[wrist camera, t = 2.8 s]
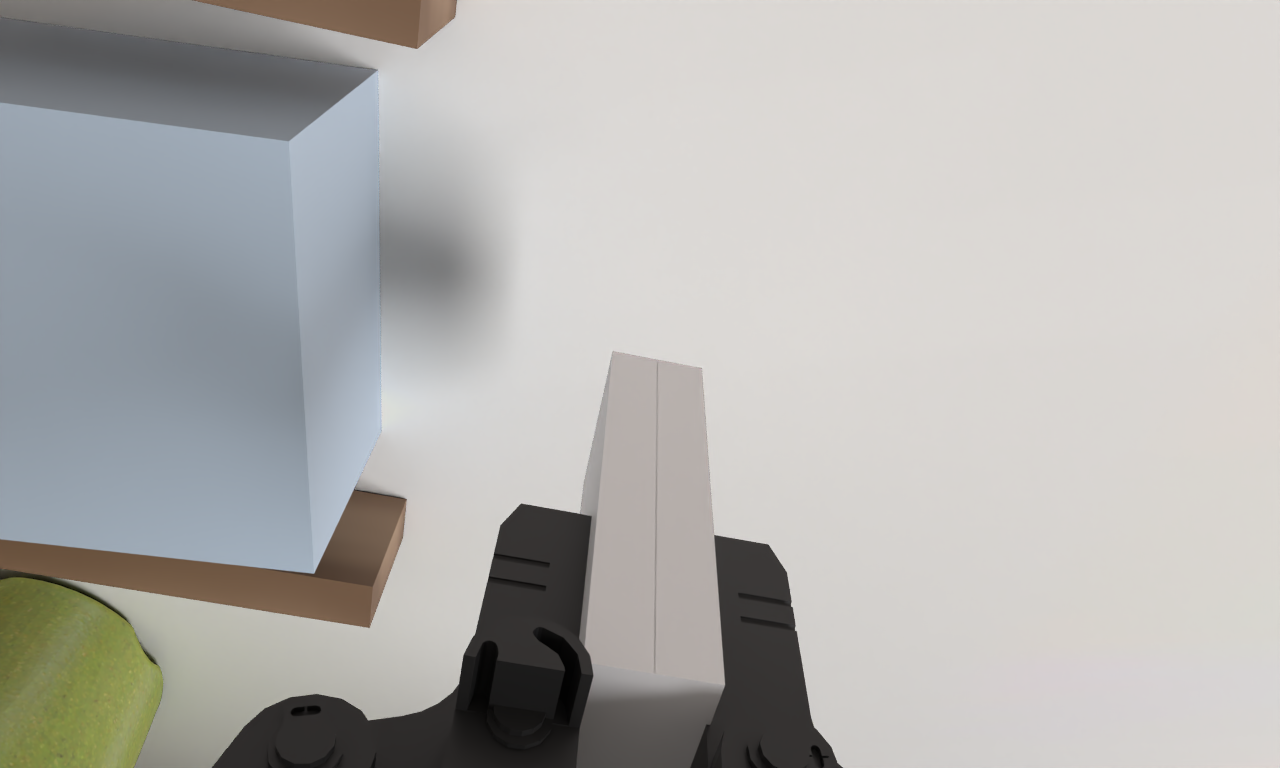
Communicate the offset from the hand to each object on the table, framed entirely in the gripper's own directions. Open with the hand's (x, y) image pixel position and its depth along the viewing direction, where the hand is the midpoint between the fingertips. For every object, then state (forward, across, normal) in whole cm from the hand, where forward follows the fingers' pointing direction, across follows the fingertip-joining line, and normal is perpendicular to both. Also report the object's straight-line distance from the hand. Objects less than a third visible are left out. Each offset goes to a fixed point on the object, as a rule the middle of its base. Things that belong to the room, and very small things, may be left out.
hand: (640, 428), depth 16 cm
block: (+5, +10, 0) cm, 11 cm away
